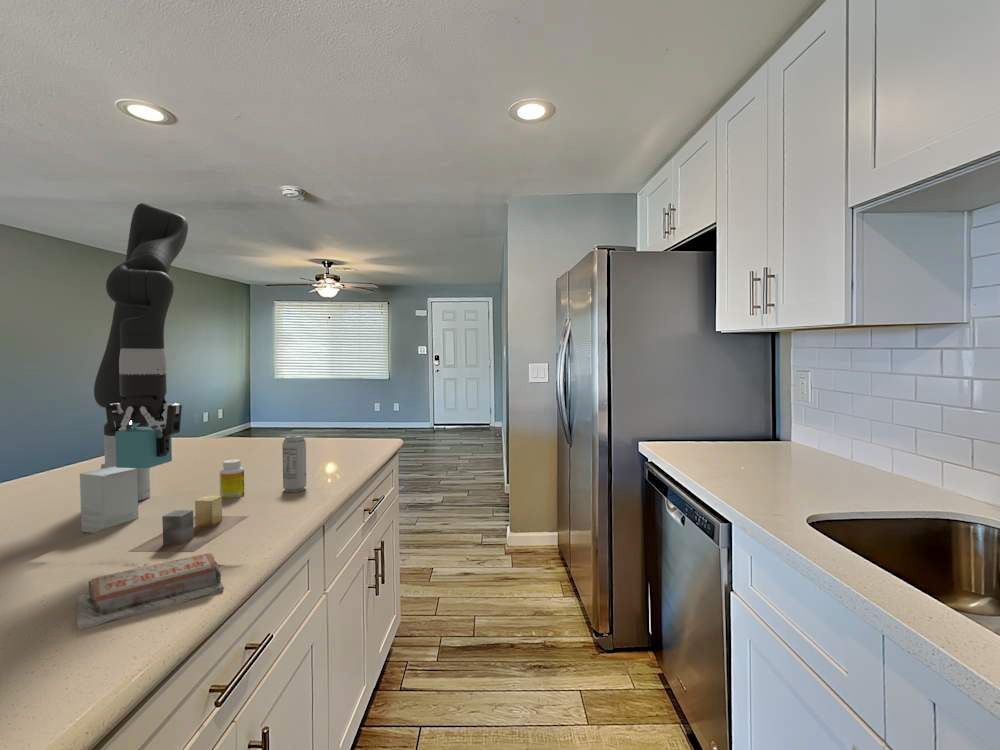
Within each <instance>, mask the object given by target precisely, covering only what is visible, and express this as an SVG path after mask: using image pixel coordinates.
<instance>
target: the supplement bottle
mask: <svg viewBox="0 0 1000 750" xmlns="http://www.w3.org/2000/svg"><path fill="white" fill-rule="evenodd" d="M241 464H242V463H241V460H240V459H236V458H234V459H227V460H224V461H223V462H222V468H221V469H220V470H219V496H222V498H225V499H226V498H237V497H238V498H240V497H241V498H244V497H245V468H244V467H243V466H241Z"/></svg>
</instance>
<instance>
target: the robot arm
mask: <svg viewBox="0 0 1000 750" xmlns="http://www.w3.org/2000/svg"><path fill="white" fill-rule="evenodd" d="M188 230H189V225H188V220H187V219H186V218H185V217H184V216H182V215H181V214H179V213H176V212H172V211H170V210H166V209H163V208H160V207H157V206H154V205H151V204H147V203H141V202H140V203H138V204H137V205H136V207H135V208H134V211H133V213H132V216H131V221H130V229H129V235H128V241H127V249H126V256H125V261H124V262H122V263H120V264H119V265H117V266H115V267H114V268H113V269H112V271H111V272H110V273H109V274H108V276H107V279H106V283H105V288H106V292H107V294H108V295H107V296H108V297H109V299H111V301H113V302H115V305H114V309H113V314H112V320H111V327H110V330H109V335H108V338H107V343H106V347H105V350H104V353H103V356H102V358H101V361H100V365H99V367H98V369H97V370H98V371H97V374H96V378H95V380H94V385H93V394H94V395H93V397H94V400H95V402H96V404H97V405H98V406H99V407H100V408H105V412H106V413H105V414H106V423H104V425H103V443H104V463H102V464H101V465H100V469H104V468H109V467H114V466H116V438H115V432H116V431H121V430H128V429H131V428H136V427H150V428H152V429H153V430H156V435H157V437H158V438H156V452H157V457H163V456H166V455H167V453H169V450H170V448H169V437H170V436H171V437H172V435H174V434H179V433H180V431H181V420H182V410H183V406H182V404H181V403H168V402H167V400H166V395H167V392H168V391H167V389H168V387H167V360H166V359H167V358H166V354H165V336H164V335H165V325H166V323H165V322H166V318H167V313H168V311H169V308H170V305H171V302H172V300H173V299H172V298H173V295H174V291H175V286H174V281H173V280H172V278H171V276H169V272H170V268H171V266H172V263H173V262H174V260H175V259H176V258H177V256H178V255H179V254H180V252H181V251H182V250H183V247H184V245H185V244H186V239H187V236H188V233H189V232H188ZM165 414H166V416H165ZM162 429H163V431H162ZM136 469H137V488H138V502H139V501H143V500H145V499H148V498H150V496H151V475H150V474H151V470H150V469H151V468H136Z"/></svg>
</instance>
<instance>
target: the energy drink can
mask: <svg viewBox="0 0 1000 750" xmlns="http://www.w3.org/2000/svg"><path fill="white" fill-rule="evenodd" d="M305 487H307V442H306V440H305V437H304V435H302V434H292V435H291V434H290V435H286V436H284V440H283V441H282V488H283V489H284V490H285V492H287V493H298V491H299V492H302V491H304V490H305Z"/></svg>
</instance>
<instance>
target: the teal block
mask: <svg viewBox="0 0 1000 750" xmlns="http://www.w3.org/2000/svg"><path fill="white" fill-rule="evenodd" d="M162 431H163V429H162ZM115 438H116V468H150V469H151V468H154V467H156V466H161V465H163V464H167V463H170V462H172V461H173V455H172V453H173V450H172V445H173V444H172V435H171V436H170V437H169V448H170V450H169V453H167V455H166V456H163V457H157V452H156V438H158V437H157V435H156V430H153V429H152V428H150V426H149V427H136V428H131V429H128V430H121V431H116V432H115Z"/></svg>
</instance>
